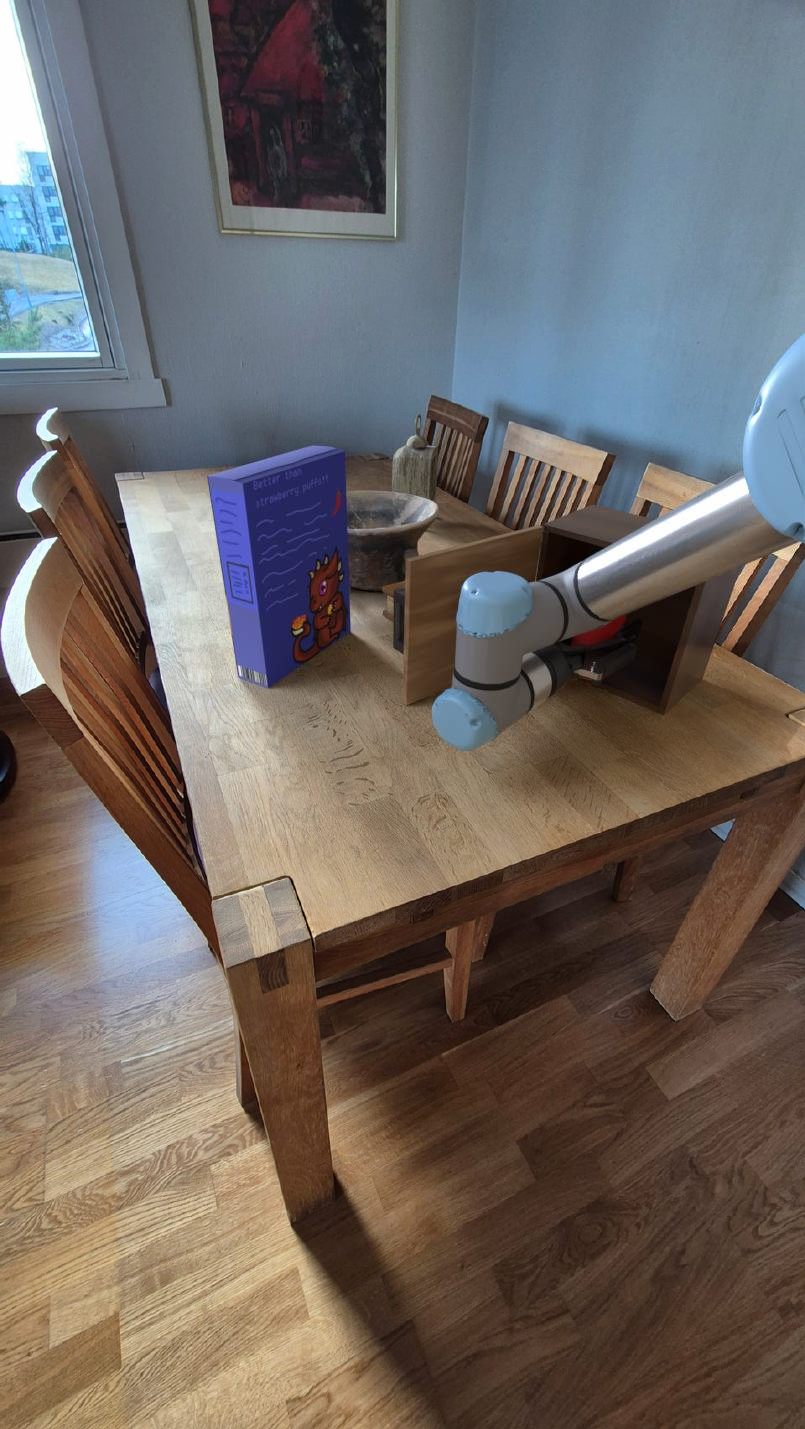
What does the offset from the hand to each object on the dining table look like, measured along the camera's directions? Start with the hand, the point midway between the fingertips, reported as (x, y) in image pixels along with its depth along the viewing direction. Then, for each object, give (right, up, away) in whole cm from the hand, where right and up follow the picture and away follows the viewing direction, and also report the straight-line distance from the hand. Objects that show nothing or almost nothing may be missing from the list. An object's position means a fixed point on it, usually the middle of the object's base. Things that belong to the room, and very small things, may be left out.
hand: (614, 619), depth 94 cm
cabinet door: (-23, -8, +5) cm, 25 cm away
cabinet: (+2, -7, +7) cm, 10 cm away
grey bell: (-29, +35, +66) cm, 80 cm away
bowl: (-38, +13, +35) cm, 53 cm away
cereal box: (-49, -4, +9) cm, 50 cm away
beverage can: (-4, -8, +1) cm, 9 cm away
